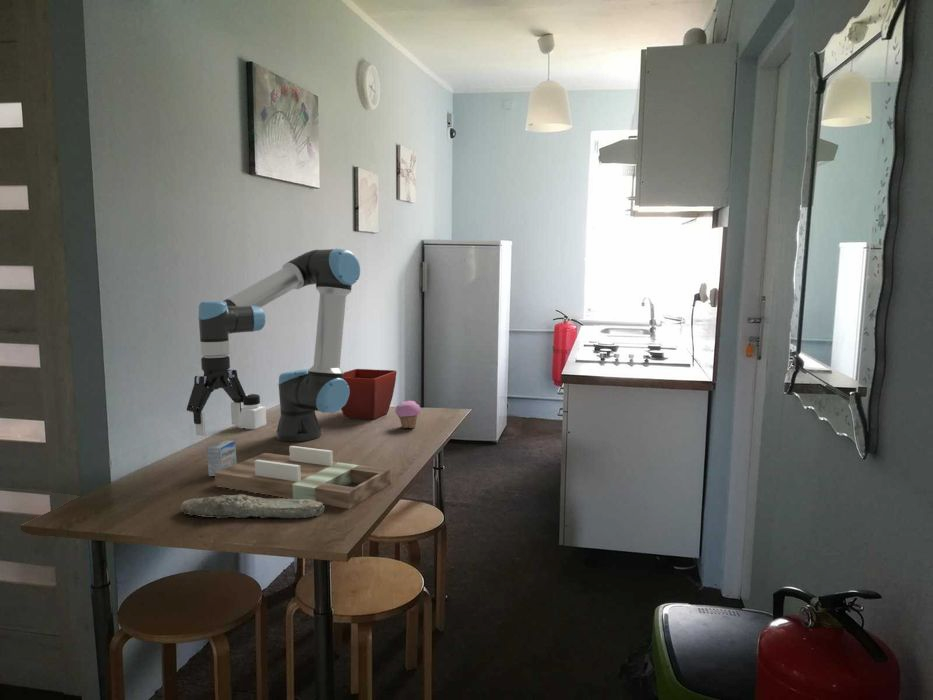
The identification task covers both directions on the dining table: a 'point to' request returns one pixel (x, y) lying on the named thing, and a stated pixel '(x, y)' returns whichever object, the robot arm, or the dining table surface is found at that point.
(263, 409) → the medicine bottle
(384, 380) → the plant pot
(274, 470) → the channel walls
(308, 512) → the elongated rock
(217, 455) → the medicine box
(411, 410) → the cupcake
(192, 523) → the dining table surface
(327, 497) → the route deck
